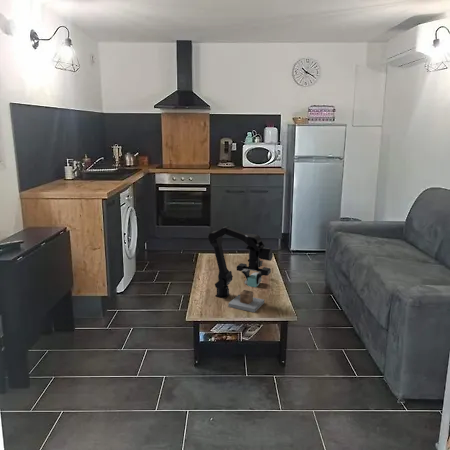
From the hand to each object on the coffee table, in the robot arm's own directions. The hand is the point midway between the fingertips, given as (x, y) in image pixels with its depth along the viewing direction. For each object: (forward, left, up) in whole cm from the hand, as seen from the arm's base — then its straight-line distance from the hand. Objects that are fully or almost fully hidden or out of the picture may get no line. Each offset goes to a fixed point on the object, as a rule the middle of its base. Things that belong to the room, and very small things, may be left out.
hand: (253, 283), depth 250 cm
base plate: (-2, -4, -12) cm, 13 cm away
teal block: (0, 0, -1) cm, 1 cm away
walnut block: (-2, -4, -10) cm, 11 cm away
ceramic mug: (-11, +25, -12) cm, 30 cm away
